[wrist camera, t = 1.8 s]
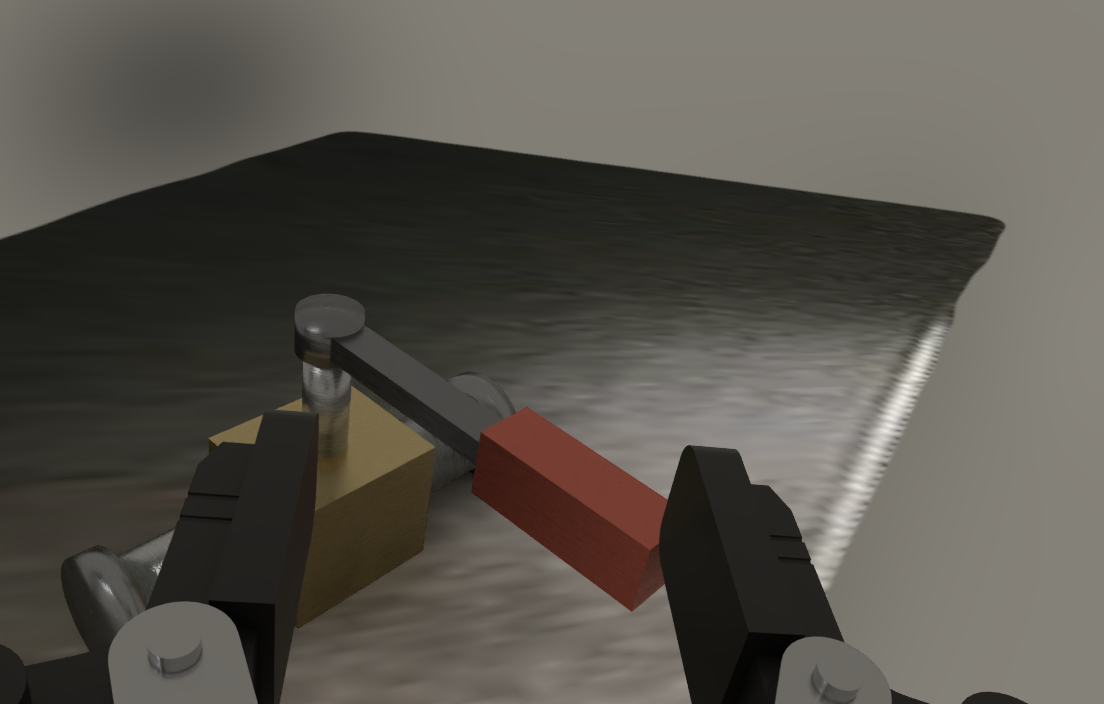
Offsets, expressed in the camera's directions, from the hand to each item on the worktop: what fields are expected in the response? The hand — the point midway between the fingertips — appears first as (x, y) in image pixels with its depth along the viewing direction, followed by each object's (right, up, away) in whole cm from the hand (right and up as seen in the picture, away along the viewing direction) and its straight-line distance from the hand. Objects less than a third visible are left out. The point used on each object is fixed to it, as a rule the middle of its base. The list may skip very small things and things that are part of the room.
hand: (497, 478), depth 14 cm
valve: (-11, -8, +36) cm, 39 cm away
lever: (-3, -2, +26) cm, 26 cm away
